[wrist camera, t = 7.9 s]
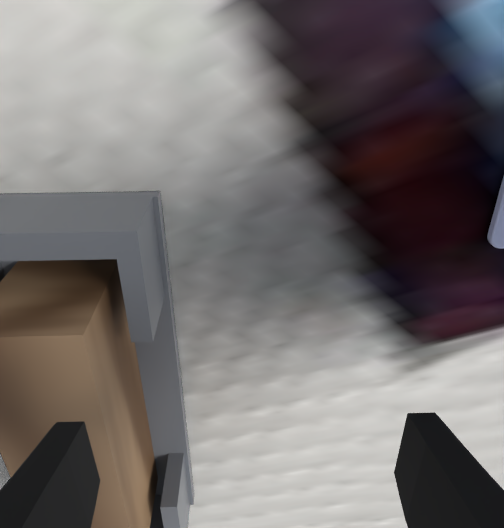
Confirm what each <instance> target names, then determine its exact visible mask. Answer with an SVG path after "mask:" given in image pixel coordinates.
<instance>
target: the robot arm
mask: <svg viewBox="0 0 504 528" xmlns="http://www.w3.org/2000/svg"><path fill="white" fill-rule="evenodd" d="M487 239H488V241H489V243H490V244H491V245H492V246H494V247H495V248H500V249H503V248H504V176H503V180H502V184H501V187H500V191H499V194H498V198H497V202H496V205H495V209H494V213H493V216H492V220H491V224H490V227H489V231H488V235H487ZM394 474H395V478H396V482H397V487H398V491H399V495H400V500H401V504H402V508H403V512H404V516H405V520H406V523H407V526H408V528H504V490H503V489H502V488H501V487H500V486H499V485H498V483H497V482H496V481H495V480H494V479H493V478H492V477H491V476H490V475H489V474H488V472H487V471H486V470H485V469H484V468H483V467H482V466H481V465H480V464H479V462H478V461H477V460H476V459H475V458H474V457H473V456H472V454H471V453H470V452H469V451H468V450H467V449H466V448H465V447H464V445H463V444H462V443H461V442H460V441H459V440H458V438H457V437H456V436H455V435H454V434H453V433H452V431H451V430H450V429H449V428H448V427H447V426H446V425H445V423H444V422H443V421H442V420H441V419H440V418H439V416H438V415H436V414H435V413H408V414H407V418H406V423H405V427H404V432H403V436H402V440H401V445H400V449H399V454H398V458H397V462H396V467H395V471H394ZM99 485H100V477H99V473H98V470H97V466H96V462H95V459H94V455H93V451H92V448H91V444H90V440H89V436H88V433H87V429H86V425H85V422H84V421H79V422H56V423H55V424H54V425H53V426H52V427H51V429H50V430H49V431H48V432H47V434H46V435H45V436H44V437H43V439H42V440H41V441H40V442H39V444H38V445H37V446H36V447H35V449H34V450H33V451H32V452H31V454H30V455H29V456H28V457H27V459H26V460H25V461H24V462H23V464H22V465H21V466H20V467H19V468H18V470H17V471H16V472H15V473H14V474H13V476H12V477H11V478H10V479H9V481H8V482H7V483H6V484H5V485H4V486H3V488H2V489H1V490H0V528H91V525H92V520H93V515H94V511H95V506H96V501H97V495H98V490H99Z"/></svg>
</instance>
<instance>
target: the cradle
mask: <svg viewBox="0 0 504 528" xmlns="http://www.w3.org/2000/svg"><path fill="white" fill-rule="evenodd" d="M100 259H117V264H118V270H119V276H120V281H121V287H122V293H123V298H124V304H125V310H126V315H127V321H128V327H129V333H130V338H131V342H135V347H136V353H137V359H138V365H139V371H140V376H141V382H142V388H143V394H144V400H145V405H146V411H147V417H148V423H149V429H150V434H151V440H152V446H153V452H154V458H155V463H156V469H157V475H158V482H157V488H156V494H155V500H154V505H153V511H152V517H151V523H150V528H188V520H189V510H190V505H192V504H194V488H193V479H192V470H191V461H190V452H189V443H188V434H187V425H186V416H185V408H184V399H183V390H182V381H181V372H180V363H179V354H178V345H177V336H176V328H175V319H174V310H173V301H172V292H171V283H170V274H169V265H168V256H167V247H166V239H165V230H164V221H163V212H162V203H161V194H160V191H142V192H78V193H15V194H0V282H1V280H2V279H3V278H4V277H5V276H6V275H7V273H8V272H9V271H10V270H11V269H12V268H13V267H14V265H15V264H16V263H17V262H18V261H45V260H100Z"/></svg>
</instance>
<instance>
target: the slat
mask: <svg viewBox="0 0 504 528" xmlns="http://www.w3.org/2000/svg"><path fill="white" fill-rule="evenodd" d="M79 421H84V422H85V425H86V429H87V433H88V436H89V440H90V444H91V448H92V451H93V455H94V459H95V462H96V466H97V470H98V473H99V477H100V485H99V490H98V495H97V501H96V506H95V511H94V515H93V520H92V525H91V528H150V523H151V517H152V511H153V505H154V500H155V494H156V488H157V482H158V475H157V469H156V463H155V458H154V452H153V446H152V440H151V434H150V429H149V423H148V417H147V411H146V405H145V400H144V394H143V388H142V382H141V376H140V371H139V365H138V359H137V353H136V347H135V342H131V338H130V333H129V327H128V321H127V315H126V310H125V304H124V298H123V293H122V287H121V281H120V276H119V270H118V264H117V259H100V260H45V261H18V262H17V263H16V264H15V265H14V267H13V268H12V269H11V270H10V271H9V272H8V273H7V275H6V276H5V277H4V278H3V279H2V280H1V282H0V453H1V456H2V458H3V460H4V463H5V465H6V467H7V470H8V472H9V475H10V477H12V476H13V474H14V473H15V472H16V471H17V470H18V468H19V467H20V466H21V465H22V464H23V462H24V461H25V460H26V459H27V457H28V456H29V455H30V454H31V452H32V451H33V450H34V449H35V447H36V446H37V445H38V444H39V442H40V441H41V440H42V439H43V437H44V436H45V435H46V434H47V432H48V431H49V430H50V429H51V427H52V426H53V425H54V424H55V423H56V422H79Z"/></svg>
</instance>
